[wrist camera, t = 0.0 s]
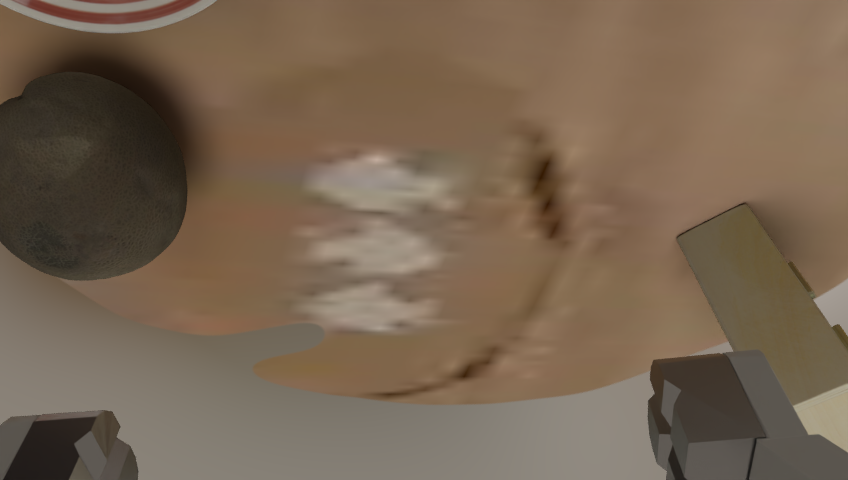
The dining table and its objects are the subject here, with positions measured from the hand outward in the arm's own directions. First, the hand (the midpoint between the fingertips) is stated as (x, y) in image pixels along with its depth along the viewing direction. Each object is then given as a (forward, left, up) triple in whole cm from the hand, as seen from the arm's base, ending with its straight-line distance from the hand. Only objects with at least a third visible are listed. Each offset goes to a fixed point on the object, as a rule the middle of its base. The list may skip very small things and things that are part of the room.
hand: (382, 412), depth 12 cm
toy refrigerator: (+34, +25, -48) cm, 64 cm away
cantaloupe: (+16, -25, -48) cm, 57 cm away
